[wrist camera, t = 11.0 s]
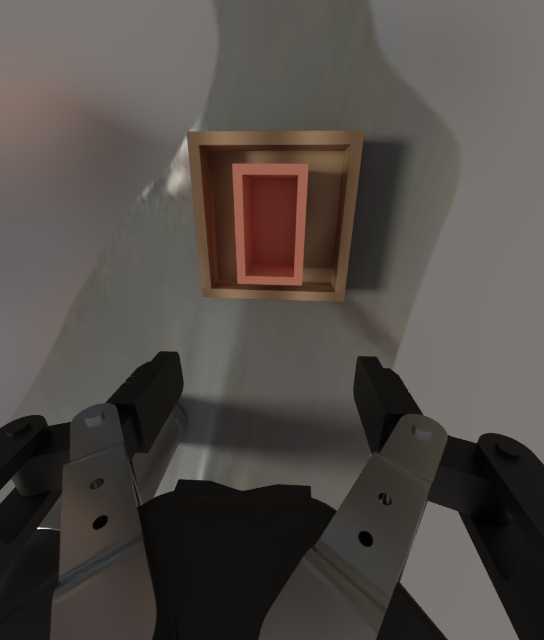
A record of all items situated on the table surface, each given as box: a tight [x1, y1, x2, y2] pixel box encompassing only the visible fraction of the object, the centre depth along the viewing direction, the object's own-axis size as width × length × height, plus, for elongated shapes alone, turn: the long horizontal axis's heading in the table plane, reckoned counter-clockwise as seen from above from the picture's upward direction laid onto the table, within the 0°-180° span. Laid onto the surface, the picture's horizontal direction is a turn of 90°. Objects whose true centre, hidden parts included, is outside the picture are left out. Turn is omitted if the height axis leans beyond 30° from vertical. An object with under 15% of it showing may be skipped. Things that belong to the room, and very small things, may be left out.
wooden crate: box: [187, 130, 365, 302], centre depth 26 cm, size 14×14×4 cm
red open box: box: [232, 164, 309, 286], centre depth 24 cm, size 9×6×6 cm, turn 0°
